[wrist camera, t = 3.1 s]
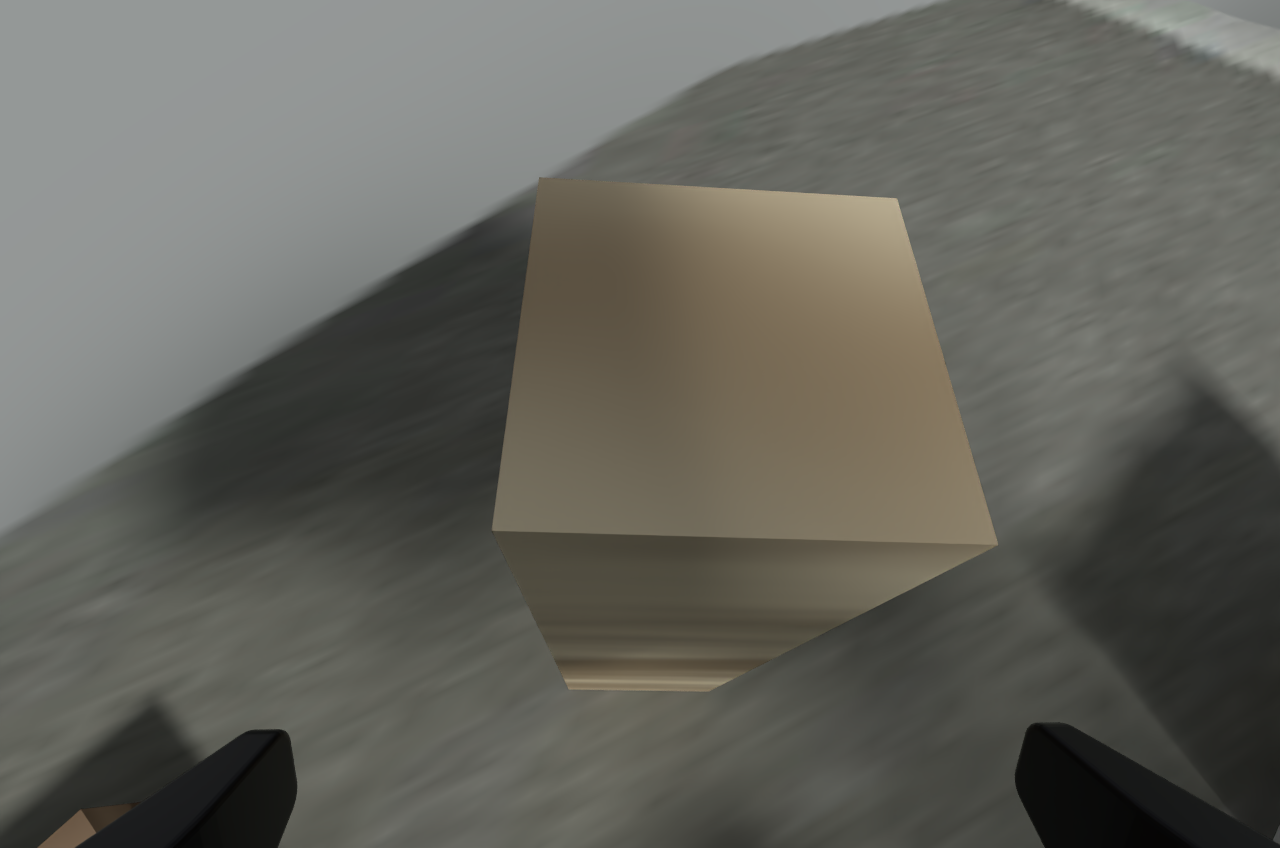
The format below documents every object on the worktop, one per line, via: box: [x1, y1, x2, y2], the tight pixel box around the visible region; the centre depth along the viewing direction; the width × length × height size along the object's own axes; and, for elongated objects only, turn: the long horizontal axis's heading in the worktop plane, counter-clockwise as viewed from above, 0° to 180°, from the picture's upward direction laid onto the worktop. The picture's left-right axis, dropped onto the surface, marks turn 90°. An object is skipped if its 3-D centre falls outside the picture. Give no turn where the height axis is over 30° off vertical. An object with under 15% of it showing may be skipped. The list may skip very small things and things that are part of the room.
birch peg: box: [492, 178, 998, 691], centre depth 12 cm, size 4×4×14 cm
